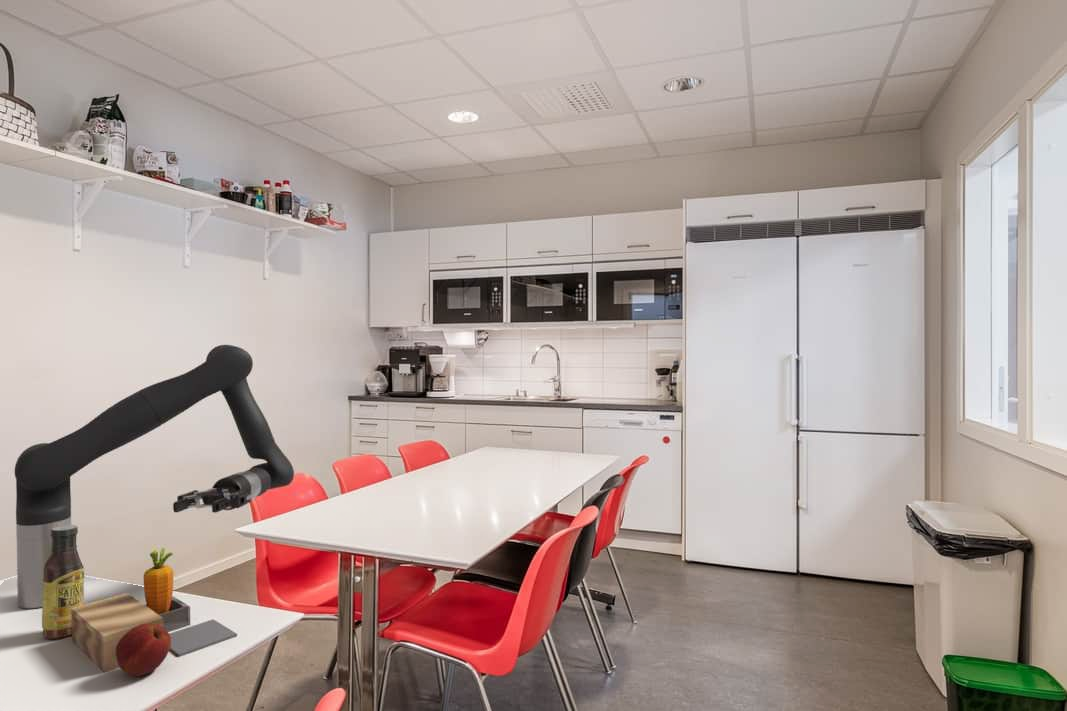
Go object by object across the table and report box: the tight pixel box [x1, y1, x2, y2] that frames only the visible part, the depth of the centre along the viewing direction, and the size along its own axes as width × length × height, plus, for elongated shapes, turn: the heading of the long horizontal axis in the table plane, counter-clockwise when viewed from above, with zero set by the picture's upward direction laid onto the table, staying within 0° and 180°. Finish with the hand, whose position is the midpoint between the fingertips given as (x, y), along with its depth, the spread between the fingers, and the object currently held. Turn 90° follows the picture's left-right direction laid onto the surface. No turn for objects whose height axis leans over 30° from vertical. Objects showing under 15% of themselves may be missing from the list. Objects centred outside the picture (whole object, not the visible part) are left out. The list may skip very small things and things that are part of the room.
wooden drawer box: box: [71, 592, 191, 673], centre depth 115 cm, size 18×16×6 cm
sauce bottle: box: [41, 524, 85, 640], centre depth 118 cm, size 7×6×20 cm
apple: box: [115, 623, 171, 677], centre depth 103 cm, size 7×8×8 cm
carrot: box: [143, 547, 174, 615], centre depth 120 cm, size 5×5×15 cm
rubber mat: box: [169, 618, 238, 657], centre depth 115 cm, size 10×10×1 cm
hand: (194, 507), depth 131 cm, fingers open, 8 cm apart
